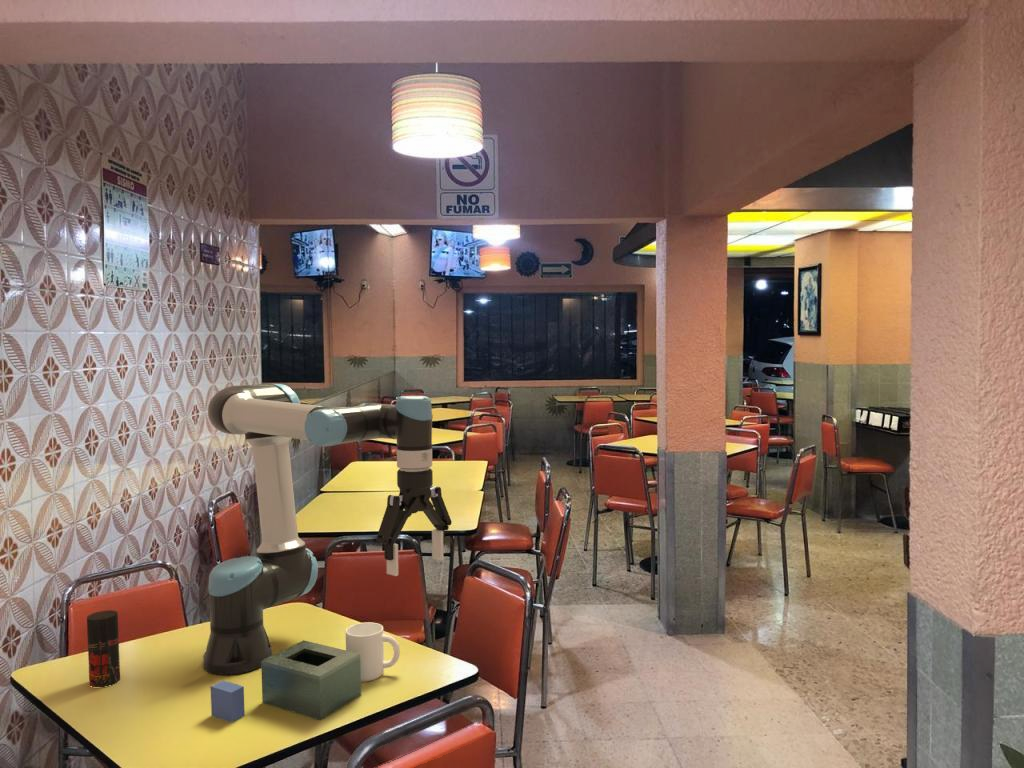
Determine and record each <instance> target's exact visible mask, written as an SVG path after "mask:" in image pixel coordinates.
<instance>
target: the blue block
mask: <svg viewBox="0 0 1024 768" xmlns="http://www.w3.org/2000/svg"><path fill="white" fill-rule="evenodd" d="M210 704H211V705H210V708H211V709H210V710H211V711H210V712H211V717H213V718H217V719H220V720H223V721H227V722H230V723H235V722H236V721H238V720H240V719H241V718H244V717H245V716H246V714H245V688H244V685H239V684H237V683H233V682H230V681H226V680H221V681H218V682H217V683H214V684H212V685H210Z"/></svg>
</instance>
